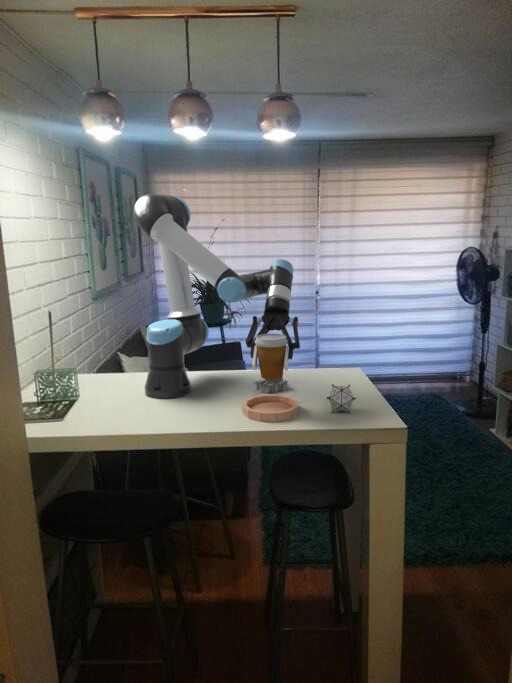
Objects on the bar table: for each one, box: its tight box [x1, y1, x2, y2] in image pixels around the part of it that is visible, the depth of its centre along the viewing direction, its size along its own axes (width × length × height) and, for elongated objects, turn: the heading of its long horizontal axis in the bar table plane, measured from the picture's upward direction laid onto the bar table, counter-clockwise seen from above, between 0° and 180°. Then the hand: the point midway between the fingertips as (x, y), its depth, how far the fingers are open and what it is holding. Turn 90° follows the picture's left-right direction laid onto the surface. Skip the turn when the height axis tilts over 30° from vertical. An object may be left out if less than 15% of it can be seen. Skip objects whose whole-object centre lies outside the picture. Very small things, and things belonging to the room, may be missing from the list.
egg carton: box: [253, 377, 290, 394], centre depth 172 cm, size 11×8×4 cm
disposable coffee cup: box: [255, 333, 288, 380], centre depth 147 cm, size 10×10×12 cm
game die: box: [325, 383, 357, 414], centre depth 149 cm, size 9×8×10 cm
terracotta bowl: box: [241, 394, 300, 423], centre depth 150 cm, size 16×16×2 cm
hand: (269, 367), depth 144 cm, fingers closed on disposable coffee cup, 8 cm apart
